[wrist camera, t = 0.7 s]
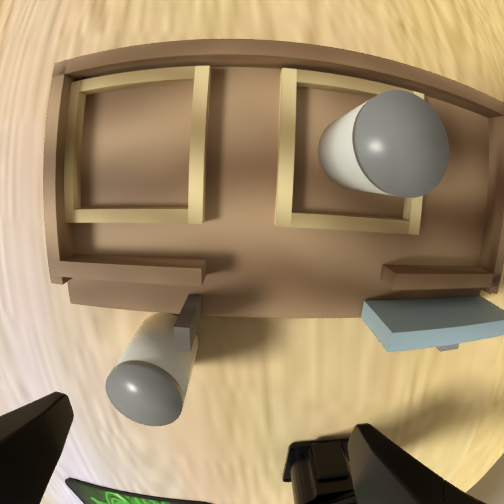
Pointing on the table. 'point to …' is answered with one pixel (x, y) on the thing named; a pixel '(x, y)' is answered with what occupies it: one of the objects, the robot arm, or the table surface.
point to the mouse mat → (115, 495)
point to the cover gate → (432, 322)
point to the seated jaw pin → (386, 146)
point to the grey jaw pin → (152, 374)
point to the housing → (255, 185)
